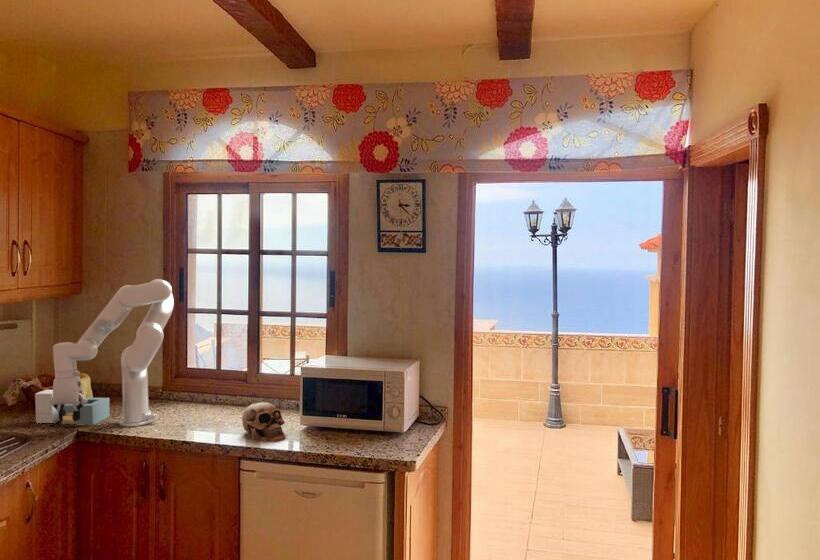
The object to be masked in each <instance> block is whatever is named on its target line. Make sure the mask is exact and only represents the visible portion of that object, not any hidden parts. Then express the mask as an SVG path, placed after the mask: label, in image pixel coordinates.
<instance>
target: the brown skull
mask: <svg viewBox="0 0 820 560" xmlns="http://www.w3.org/2000/svg"><path fill="white" fill-rule="evenodd" d="M241 420H242V427H243V429H244V431H246V432H247V433H248V434H249V435H250V436H251V438H252V439H253V440H256V441H260V442H261V441H262V442H266V443H267V442H268V443H270V442H280V441H283V440H285V439H286V436H285V433H284V430H283V427H282V425H284V424H285V419H284V418H283V417H282V414H281V410H280V409H278V408H277V407H276V406H275V405H274V404H273V403H272V402H264V401H263V402H257V403H252V404H250V405H249V406H247V407H246V408H245V409H244V410H243V413H242V417H241Z"/></svg>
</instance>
